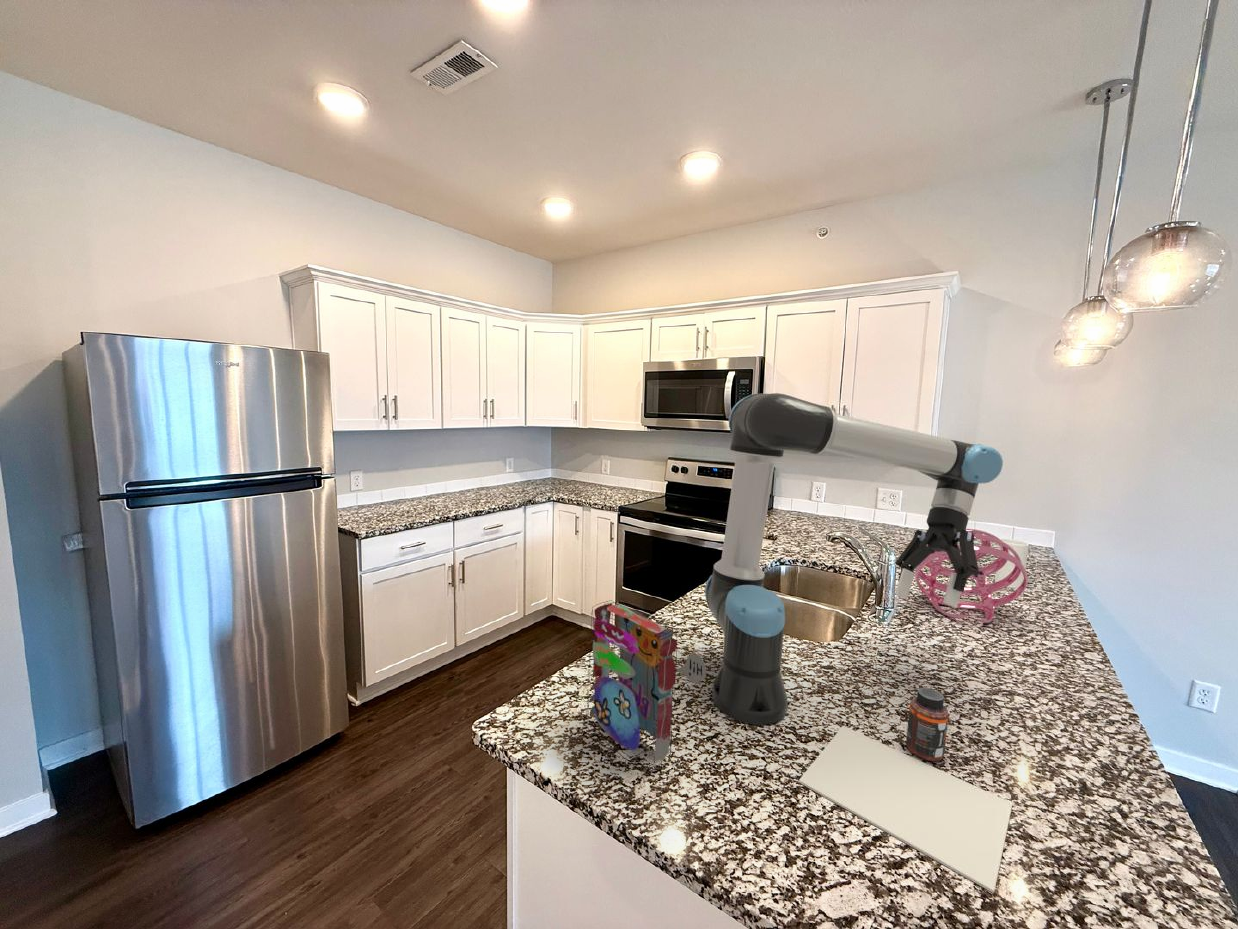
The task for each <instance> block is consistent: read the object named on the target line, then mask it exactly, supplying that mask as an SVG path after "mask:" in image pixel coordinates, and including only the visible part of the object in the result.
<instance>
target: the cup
mask: <svg viewBox="0 0 1238 929" xmlns="http://www.w3.org/2000/svg"><path fill="white" fill-rule="evenodd" d="M999 539H1000V540H1002V541H1003V542H1005V543H1006V544H1008V545H1009V546H1010V547H1012V548H1013V549H1014V550H1015V551H1016V553H1017V554H1018V555H1019V557H1020V559H1021V562H1022V564H1023V566H1024V567H1025V569H1026V570H1027V562H1028V561H1027V560H1028V555H1029V548H1030V547H1029V546H1030V543H1029V542H1027V541H1025V540H1019V539H1014V538H1013V539H1012V538H999ZM998 549H999V550H1000V546H999V545H998ZM1008 551H1009V554H1011V555H1012V556H1014V555H1013V553H1012V552H1011V551H1010V550H1008ZM1014 557H1015V556H1014ZM1014 567H1015V564H1013V563H1012V562H1010V561H1007V563H1006V564H1005V565H1004V566H1003V567H1002V568H1001V569H999V570H998V571H996V572H995V576H994V583H995V582H998V581H1000V580H1002V579H1004V578H1005V577H1007V576H1008V575H1009V574H1010V573H1011V572H1012V571H1013V569H1014ZM1022 582H1023V573H1022V571H1021V573H1020V575H1019V577H1018V578H1017V579H1016V580H1015V581H1014V582H1013V583H1012V584H1010V585H1009V586H1007V587H1006V588H1011V589H1018V588H1019V586H1020V585H1021V584H1022Z"/></svg>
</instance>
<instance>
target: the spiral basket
mask: <svg viewBox="0 0 1238 929" xmlns="http://www.w3.org/2000/svg"><path fill="white" fill-rule="evenodd" d="M966 531H968V532H970V533H972V534H974V535H975V536H974V540H979V541H980V544H974V549H975V554H976V559H977V561H978V560H980V559H982V558H983V557H985V556H986V555H992V556H995V557H997V558H996V559H995V560H994V561H993V562H991V563H990V564H988V565H985V566H983V567H981V566H979V565H978V569H979V574H978V575H977V576H975V575H971V576H970V577H969V578H968V579H974V581H976V585H975V586H968V587H967V586H965V589H964V591H963V592H961V595H960V596H964V595H965V596H979V597H980V598H981V600H980V601H976V602H965V601H964V602H963V601H959V603H958V606H957V608H956V609H963V610H982V611H984V618H983V617H982V616H980V617H979V620H980V622H981V623H984V624H988V623H991V622H992V621H993V620H994V615H995V609H996V608H998V607H1001V606H1003V605H1006V604H1009V603H1012V601H1014V600H1016V599H1017V598H1019V597H1020V596H1022V594H1023V593H1024V592H1025V591H1026V588H1027V586H1028V582H1029V581H1028V580H1029V578H1028V572H1027V568H1026V569H1025V567H1024V566H1023V564H1022V562H1021V559H1020V557H1019V555H1018V554H1017V553H1016V551H1015V550H1014V549H1013V548H1012V547H1010V546H1009V545H1008V544H1006V543H1005V542H1003V541H1002V540H1000V539H1001V538H999V537H997V535H994V534H993V533H990V532H987V531H983V530H980V529H974V528H966ZM991 543H995V544H996V545H998V547H999V546H1000V550H999V548H995V547H992V544H991ZM957 545H958V547H959V549H960V544H957ZM926 546H928V544H927V545H926ZM1008 550H1010V551H1011V552H1012V553H1013V555H1014V556H1015V557H1014V556H1012V555H1011V554H1009V551H1008ZM960 551H961V550H960ZM960 554H961V552H960ZM934 560H935V561H934ZM945 560H947V561H950V558H949V556H948V554H947V552H944V551H941V552H935V553H933V554H930V555H929V556H928V557H927V558H926V559H925V560H923V561H922V562H921V563H920V564H919V565H918V566H917V567H916V568H915V569H914V573H915V574H914V580H915V584H916V586H917V587H918V589H919V591H920V592H921V593H922V594H924V595H925V596H926V597H927V598H928V599H929V601H930V603H931V604H932V606H933V607H934V608H935V609H936V611H938V612H939V613H941V614H942V615H944V616H946V617H948V618H951V619H958V620H959V619H966V618H968V615H966V614H952V613H948V612H946V611H945V610H943V609H942V608H941V607H940V605H939V604H941V605H944V606H947V607H951V608H953V607H952V606H950V605H947V604H945V603H943V601H944V597H941V596H940V595H937V594H936V590H938V591H941V592H945V593H946V590H947V586H948V584H945V583H942V582H939V581H938V579H937V576H938V575H941V576H945V577H949V578H950V576H951V573H955V574H957V573H956V572H954V571H955V570H954V569H951V568H947V567H945V566H942V565H943V564H942V563H943V561H945ZM1007 561H1010V562H1012V563H1013V564H1015V567H1014V569H1013V571H1012V572H1011V573H1010V574H1009V575H1008V576H1007V577H1005V578H1004V579H1002V580H1000V581H998V582H995V581H994V582H993V583H988V582H987V581H986V577H987V576H989V575H991V574H994V573H996V571H998V570H999V569H1001V568H1002V567H1003V566H1004V565H1005V564H1006V563H1007ZM925 566H927V568H928V569H929V574H928V575H927V574H925V573H924V571H923V570H922V569H923V568H924V567H925ZM953 570H954V571H953ZM1021 571H1022V573H1023V582H1022V584H1021V585H1020V586H1019V588H1015V590H1013V592H1011V593H1009V594H1007V595H1005V596H1002V597H999V598H997V599H996V598H995V599H994V598H993V597H992V594H993V593H996V592H997V591H1001V590H1003V589H1005V588H1008V587H1007V586H1009V585H1010V584H1012V583H1013V582H1014V581H1015V580H1016V579H1017V578H1018V577H1019V575H1020V573H1021ZM919 578H920V579H921V580H922V581H923V582H924V583H925V585H926V587H927V588H925V587H924V586H923V585H922V583H921V582H920V580H919Z"/></svg>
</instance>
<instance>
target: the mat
mask: <svg viewBox="0 0 1238 929" xmlns="http://www.w3.org/2000/svg"><path fill="white" fill-rule="evenodd" d="M798 783H799V784H801V785H803V786H804V787H806V788H808V789H809V790H811V791H813V792H815V793H817V794H818V795H820V796H822V797H824V798H826V799H827V800H829V801H831V802H832V803H834V804H836V805H838V806H839V807H840V808H843V809H845V810H847V811H848V812H850V813H852V814H854V815H855V816H857V817H858V818H860V819H862V820H864V821H866V822H868V823H869V824H871V825H873V826H874V827H876V828H878V829H880V830H882V831H884V832H885V833H886V834H888V835H891V836H892V837H894V838H896V839H897V840H900V841H901V842H902V843H904V844H906V845H907V846H910V847H912V849H914V850H917V851H919V853H922V854H923V855H926V856H928V857H929V858H931V859H932V860H934V861H936V862H938V863H939V864H942V865H943V866H945V867H947V869H950V870H952V871H954V872H956V873H957V874H959V875H961V876H963V877H964V878H966V879H968V880H969V881H971V882H973V883H975V884H976V885H978V886H980V887H982V888H984V889H985V890H987V891H989V892H991V893H992V894H995V891H996V885H997V880H998V876H999V871H1000V866H1001V862H1002V858H1003V857H1002V856H1003V852H1004V847H1005V842H1006V836H1007V832H1008V827H1009V822H1010V818H1011V813H1012V810H1013V809H1012V808H1013V802H1011V801H1008V800H1007V799H1004V798H1002V797H1000V796H998V795H996V794H994V793H991V792H989V791H986V790H985V789H982V788H980V787H978V786H975V785H974V784H971V783H969V782H968V781H965V780H963V779H960V778H959V777H956V776H954V775H952V774H949V773H947V772H946V771H943V770H941V769H939V768H936V767H934V766H932V765H930V764H928V763H925V762H923V761H921V760H920V759H919V760H918V759H917V758H914V757H913V756H911V755H908V754H906V753H903V752H902V751H899V750H897V749H895V748H894V747H893V748H892V747H891V746H889V745H886V744H884V743H882V742H880V741H877V740H875V739H873V738H871V737H869V736H867V735H864V734H863V733H861V732H858V731H856V730H854V729H851V728H850V727H847V726H845V725H842V726H841V727H840V729H839V730H838V731H837V733H836V734H835V735H834V736H833V737H832V738H831V740H830V741H829V742H828V743H827V745H826V746H825V747H824V748H823V749H822V751H821V752H820V754H819V755H818V756H817V757H816V758H815V759H814V761H813V762H812V763H811V764H810V766H809V767H808V768H807V769H806V771H805V772H804V773H803V774H802V776H801V777H800V779H798Z"/></svg>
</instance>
